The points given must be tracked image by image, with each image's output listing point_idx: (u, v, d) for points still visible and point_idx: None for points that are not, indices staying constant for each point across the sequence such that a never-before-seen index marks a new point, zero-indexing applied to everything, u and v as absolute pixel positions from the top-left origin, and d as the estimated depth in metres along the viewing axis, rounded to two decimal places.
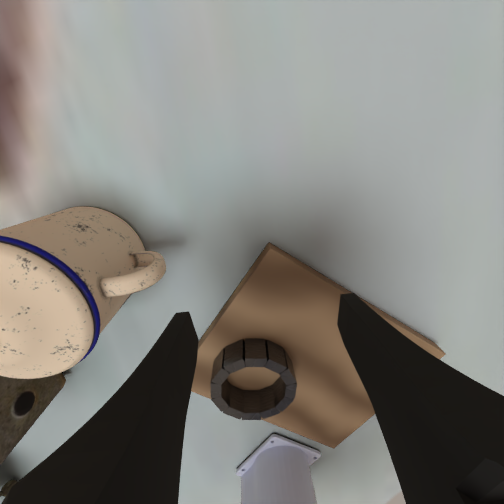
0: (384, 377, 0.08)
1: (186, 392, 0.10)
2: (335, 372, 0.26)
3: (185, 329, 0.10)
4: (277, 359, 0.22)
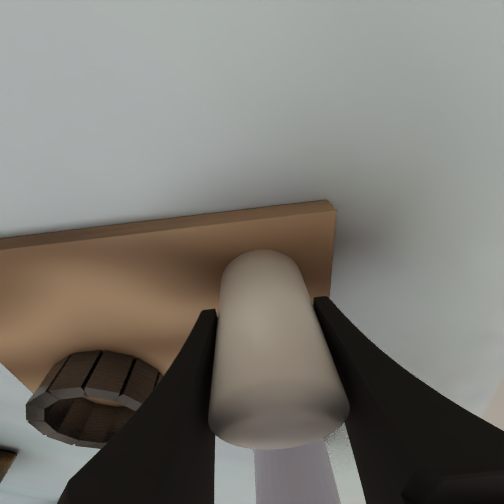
0: (348, 381, 0.08)
1: None
2: None
3: (213, 326, 0.10)
4: (68, 381, 0.14)
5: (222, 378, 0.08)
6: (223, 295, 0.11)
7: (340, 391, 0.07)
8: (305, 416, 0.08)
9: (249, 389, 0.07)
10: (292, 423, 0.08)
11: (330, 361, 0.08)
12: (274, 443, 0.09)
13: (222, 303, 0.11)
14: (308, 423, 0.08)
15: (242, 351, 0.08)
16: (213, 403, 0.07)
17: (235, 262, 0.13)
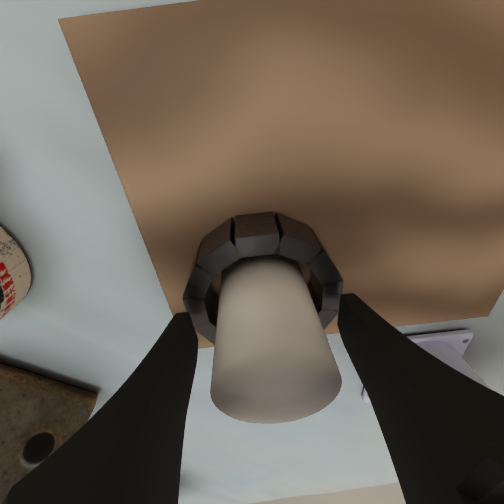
0: (384, 377, 0.08)
1: (186, 392, 0.10)
2: (405, 194, 0.12)
3: (185, 329, 0.10)
4: (256, 231, 0.11)
5: (225, 352, 0.08)
6: (225, 280, 0.12)
7: (333, 365, 0.08)
8: (300, 389, 0.09)
9: (250, 360, 0.08)
10: (288, 396, 0.09)
11: (325, 339, 0.09)
12: (270, 417, 0.09)
13: (224, 288, 0.12)
14: (302, 397, 0.09)
15: (243, 327, 0.08)
16: (216, 373, 0.08)
17: None
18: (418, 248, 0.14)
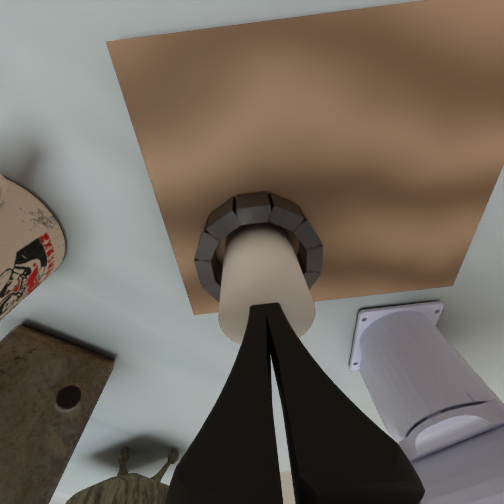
0: (281, 388, 0.08)
1: None
2: (373, 177, 0.15)
3: None
4: (252, 204, 0.14)
5: (229, 285, 0.11)
6: (228, 245, 0.15)
7: (308, 294, 0.11)
8: (285, 315, 0.12)
9: (248, 287, 0.11)
10: None
11: (303, 280, 0.12)
12: None
13: (227, 250, 0.15)
14: None
15: (243, 269, 0.11)
16: (222, 300, 0.11)
17: None
18: (387, 223, 0.17)
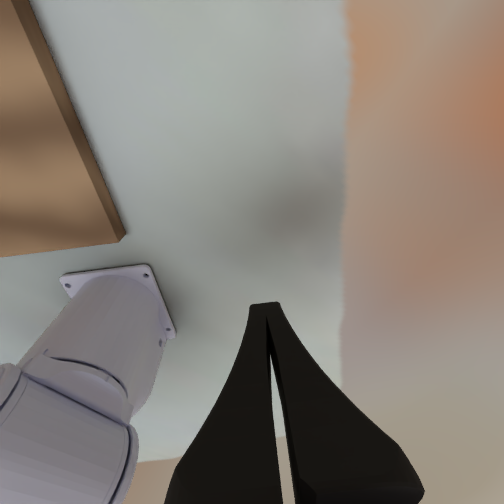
0: (281, 388, 0.08)
1: (270, 383, 0.10)
2: None
3: (266, 320, 0.10)
4: None
5: None
6: None
7: None
8: None
9: None
10: None
11: None
12: None
13: None
14: None
15: None
16: None
17: None
18: None
